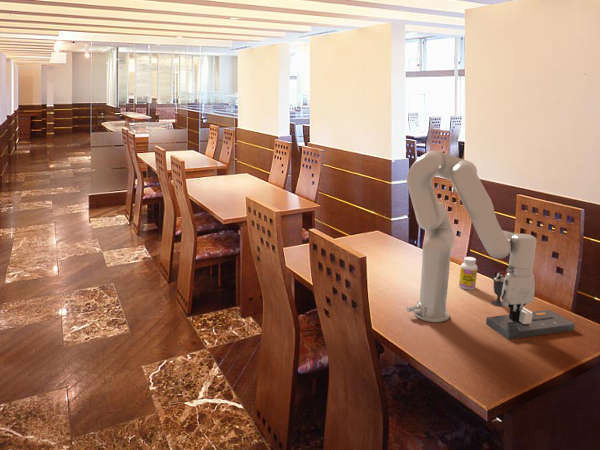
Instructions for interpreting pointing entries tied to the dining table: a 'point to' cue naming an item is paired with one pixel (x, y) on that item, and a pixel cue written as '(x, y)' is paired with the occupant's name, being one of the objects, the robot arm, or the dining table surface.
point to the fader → (525, 316)
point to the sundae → (498, 286)
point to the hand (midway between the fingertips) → (513, 320)
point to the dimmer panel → (530, 325)
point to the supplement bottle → (468, 273)
